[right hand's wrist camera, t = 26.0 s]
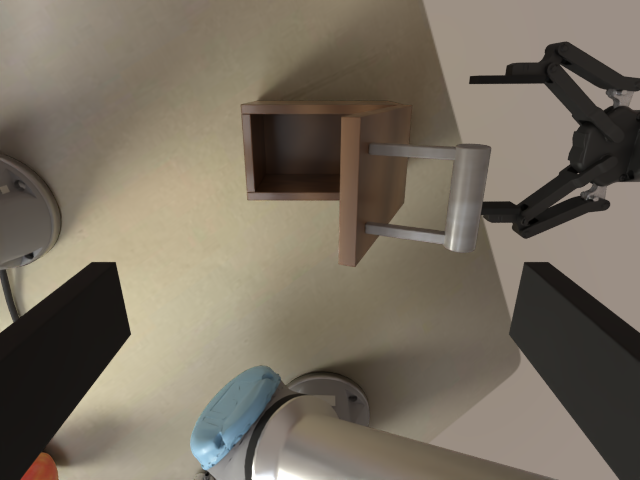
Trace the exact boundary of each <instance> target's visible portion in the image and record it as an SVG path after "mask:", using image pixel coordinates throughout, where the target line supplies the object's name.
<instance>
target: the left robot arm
mask: <svg viewBox="0 0 640 480" xmlns="http://www.w3.org/2000/svg"><path fill="white" fill-rule="evenodd" d="M560 65H562V66H564V67H565V68H567V69H569V70H570V71H572V72H574V73H575V74H577V75H579V76H580V77H582V78H584V79H585V80H587V81H589V82H590V83H592V84H593V85H595V86H597V87H599V88H602V89H606V90H607V91H606V94H607V95H608V97H609V98H611V99H613V101H614V104H613V106H610V107H608V108H607V109H605V110H604V111H603V110H602V109H601V108H599V107H597V106H596V105H595V104H594V103H593V102H592V101H591V100H590V99H589V97H588V96H587V95H586V94H585V93H584V92H583V91H582V90H581V88H580V87H579V86H578V85H577V84H576V83H575V82H574V81H573V79H572V78H571V77H570V76H569V75H568V74H567V73H566V72H565V70H564V69H563V68H562V67H561V66H560ZM531 83H544V84H545V85H546V86H547V87H548V88H549V89H550V90H551V91H552V93H553V94H554V95H555V96H556V97H557V98H558V99H559V100H560V101H561V102H562V103H563V105H564V106H565V107H566V108H567V109H568V110H569V111H570V112H571V113H572V117H573V118H574V119H575V120H576V121H577V123H578V124H579V125H580V127H579V128H578V130H577V131H575V132H574V134H573V146H572V148H571V150H570V153H569V156H568V160H570V165H569V166H567V167H566V168H564V169H563V170H562V171H560V172H559V175H558V176H557V177H556V178H554V179H553V180H551V181H550V182H549V183H547V184H546V185H544V186H543V187H542V188H540V189H539V190H537V191H536V192H535V193H533V194H532V195H530V196H529V197H528V198H526V199H525V200H523V201H522V202H521V203H519V204H518V205H515V204H513V203H512V202H510V201H509V202H483V203H482V209H481V215H483V217H484V218H485V219H486V220H487V221H489V222H492V223H500V222H501V223H513V226H512V229H513V230H514V231H515V232H516V233H518V234H519V235H520V236H521V237H523V238H525V239H527V238H530V237H532V236H534V235H537V234H539V233H541V232H544V231H546V230H548V229H551V228H553V227H555V226H558V225H560V224H562V223H565V222H567V221H569V220H572V219H574V218H576V217H579V216H581V215H583V214H586V213H588V212H595V211H604V210H607V209H608V208H609V207H610V202H609V201H608V200H605V194H606V188H607V186H608V185H610V184H612V183H615V182H640V110H632V109H631V108H629V107H628V106H629V104H630V101H631V98H632V96H633V93H634V91H639V90H640V78H632V77H624V76H622V75H621V74H619V73H617V72H616V71H614V70H612V69H611V68H609V67H608V66H606V65H604V64H603V63H601V62H600V61H598V60H596V59H595V58H593V57H591V56H590V55H588V54H587V53H585V52H583V51H582V50H580V49H579V48H577V47H575V46H574V45H572V44H570V43H569V42H561V43H555V44H550V45H548V46H547V47H546V49H545V55H544V57H543V59H542V60H541V61H540V62H538V63H512V64H510V65H507V68H506V74H505V75H504V76H503V75H502V76H470V82H469V84H531ZM577 173H579V174H577ZM589 182H590V183H592V184H593V185H592V187H591V189H589V190H587V191H585V192H581V194H580V195H581V196H577V197H573V198H570V199H568V200H566V201H563V202H561V203H559V204H556V205H554V206H552V205H553V204H554V203H556V202H557V201H559V200H560V199H562V198H563V197H565V196H566V195H568V194H569V193H570V192H572V191H573V190H575V189H576V188H581V187H583V186H585V185H586V184H588V183H589ZM550 206H552V207H550ZM549 207H550V208H549ZM369 418H370V411H369V405H368V400H367V397H366V395H365V393H364V392H363V390H362V389H361V388H360V387H359V386H358V385H357V384H356V383H355V382H353V381H352V380H350V379H348V378H346V377H344V376H342V375H338V374H334V373H327V372H318V373H311V374H307V375H303V376H301V377H298V378H296V379H295V380H293V381H291V382H290V383H289V384H288V385H286V386H285V384H284V383H283V382H282V381H281V377H280V376H279V374H276V373H275V372H274V371H273V370H272V369H271V368H269V367H267V366H256V367H253V368H250V369H248V370H246V371H244V372H243V373H241V374H239V375H238V376H237V377H236V378H234V379H233V380H231V381H230V382H229V383H228V384H227V385H225V386H224V387H223V388H222V389H221V390H220V391H219V392H218V393H217V394H216V395H215V397H214V398H213V399H212V400H211V401H210V403H209V404H208V405H207V406H206V408H205V409H204V411H203V412H202V414H201V415H200V417H199V419H198V420H197V422H196V425H195V427H194V429H193V432H192V435H191V442H190V445H191V451H192V453H193V455H194V456H195V457H196V458H197V460H198V461H199V462H200V463H201V467H202V468H203V469H204V470H207V471H208V472H209V473H210V474H211V475H212V476H213V477H214V478H215V479H216V480H557V479H553V478H550V477H546V476H543V475H539V474H535V473H532V472H528V471H525V470H521V469H517V468H514V467H510V466H507V465H503V464H499V463H496V462H492V461H489V460H485V459H481V458H478V457H474V456H471V455H467V454H463V453H460V452H456V451H453V450H449V449H445V448H442V447H438V446H435V445H431V444H427V443H424V442H420V441H417V440H413V439H409V438H406V437H402V436H399V435H395V434H391V433H388V432H384V431H381V430H377V429H373V428H370V427H368V425H369Z"/></svg>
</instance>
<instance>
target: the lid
mask: <svg viewBox="0 0 640 480" xmlns="http://www.w3.org/2000/svg"><path fill="white" fill-rule="evenodd" d="M411 114H412V105H396V106H392V107H387V108H382V109H377V110H372V111H367V112H362V113H357V114H352V115H347V116H342V117H341V164H340V213H339V264H341V265H346V266H352V267H356V265H357V264H358V263H359V261H360V260H361V259H362V257H363V256H364V255H365V253H366V252H367V251H368V249H369V248H370V247H371V246H372V244H373V243H374V242H375V240H376V239H377V238H378V236H379V235H380V236H388V237H395V238H402V239H409V240H416V241H423V242H430V243H437V244H443V245H444V247H445V248H446V249H448V250H451V251H454V252H461V253H467V252H472V251H474V250H475V247H476V241H477V234H478V228H479V222H480V216H481V209H482V203H483V197H484V191H485V184H486V178H487V172H488V166H489V159H490V153H491V147H490V146H487V145H480V144H459V145H456V147H447V146H428V145H410V144H409V138H410V126H411ZM408 157H413V158H428V159H444V160H454V163H453V171H452V179H451V187H450V194H449V202H448V210H447V218H446V226H445V231H438V230H430V229H423V228H415V227H407V226H399V225H392V224H388V223H389V222H390V221H391V219H392V218H393V217H394V215H395V214H396V213H397V211H398V210H399V209H400V207H401V206H402V205H403V204H404V198H405V186H406V174H407V162H408Z"/></svg>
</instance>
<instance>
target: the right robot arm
mask: <svg viewBox="0 0 640 480" xmlns="http://www.w3.org/2000/svg"><path fill="white" fill-rule="evenodd" d="M60 225H61V221H60V213H59V209H58V205H57V203H56V200H55V198H54V196H53V194H52V192H51V191H50V189H49V188H48V186H47V185H46V184H45V183H44V181H43V180H42V179H41V178H40V177H39V176H38V175H37V174H36V173H35V172H34V171H32V170H31V169H30V168H29V167H27V166H26V165H24V164H23V163H21V162H19V161H17V160H15V159H13V158H11V157H9V156H6V155H3V154H0V279H1V283H2V287H3V291H4V295H5V299H6V302H7V305H8V308H9V311H10V314H11V317H12V320H13V322H14V323H12V324H11V325H10V326H9V327H7V328H6V329H5V330H3V331H2V332H1V333H0V480H21V478H22V477H23V476H24V474H25V473H26V472H27V470H28V469H29V468H30V467H31V465H32V464H33V463H34V461H35V460H36V459H37V457H38V456H39V455H40V453H41V452H42V451H43V449H44V448H45V447H46V445H47V444H48V443H49V442H50V440H51V439H52V438H53V436H54V435H55V434H56V432H57V431H58V430H59V428H60V427H61V426H62V424H63V423H64V422H65V420H66V419H67V418H68V417H69V415H70V414H71V413H72V411H73V410H74V409H75V407H76V406H77V405H78V403H79V402H80V401H81V399H82V398H83V397H84V395H85V394H86V393H87V392H88V390H89V389H90V388H91V386H92V385H93V384H94V382H95V381H96V380H97V378H98V377H99V376H100V374H101V373H102V372H103V370H104V369H105V368H106V367H107V365H108V364H109V363H110V361H111V360H112V359H113V357H114V356H115V355H116V353H117V352H118V351H119V349H120V348H121V347H122V346H123V344H124V343H125V342H126V340H127V339H128V338H129V336H130V335H131V332H130V327H129V323H128V318H127V313H126V309H125V304H124V299H123V294H122V290H121V285H120V280H119V276H118V271H117V266H116V262H91V263H90V264H89V265H88V266H86V267H85V268H84V269H82V270H81V271H80V272H78V273H77V274H76V275H75V276H73V277H72V278H71V279H69V280H68V281H67V282H66V283H64V284H63V285H62V286H60V287H59V288H58V289H56V290H55V291H54V292H53V293H51V294H50V295H49V296H47V297H46V298H45V299H44V300H42V301H41V302H40V303H38V304H37V305H36V306H34V307H33V308H32V309H31V310H29V311H28V312H27V313H25V314H24V315H23V316H22V317H20V318H19V316H18V313H17V310H16V307H15V304H14V301H13V297H12V293H11V289H10V285H9V281H8V276H7V272H6V269H9V268H14V267H20V266H24V265H27V264H29V263H32V262H33V261H35V260H37V259H38V258H40V257H42V256H43V255H45V254H46V253H47V252H48V251H50V250H51V248H52V247H53V246H54V244H55V243H56V241H57V239H58V236H59V232H60ZM509 335H510V336H511V338H512V339H513V340H514V342H515V343H516V344H517V346H518V347H519V348H520V349H521V351H522V352H523V353H524V355H525V356H526V357H527V359H528V360H529V361H530V363H531V364H532V365H533V367H534V368H535V369H536V370H537V372H538V373H539V374H540V376H541V377H542V378H543V380H544V381H545V382H546V384H547V385H548V386H549V388H550V389H551V390H552V392H553V393H554V394H555V395H556V397H557V398H558V399H559V401H560V402H561V403H562V405H563V406H564V407H565V409H566V410H567V411H568V413H569V414H570V415H571V416H572V418H573V419H574V420H575V422H576V423H577V424H578V426H579V427H580V428H581V430H582V431H583V432H584V433H585V435H586V436H587V438H588V439H589V440H590V442H591V443H592V444H593V445H594V447H595V448H596V449H597V451H598V452H599V453H600V455H601V456H602V457H603V459H604V460H605V461H606V463H607V464H608V465H609V467H610V468H611V469H612V470H613V472H614V473H615V474H616V476H617V477H618V478H619V480H640V333H639V332H638V331H637V330H635V329H634V328H633V327H631V326H630V325H629V324H628V323H626V322H625V321H624V320H622V319H621V318H620V317H618V316H617V315H616V314H615V313H613V312H612V311H611V310H609V309H608V308H607V307H606V306H604V305H603V304H602V303H600V302H599V301H598V300H596V299H595V298H594V297H593V296H591V295H590V294H589V293H587V292H586V291H585V290H583V289H582V288H581V287H580V286H578V285H577V284H576V283H574V282H573V281H572V280H571V279H569V278H568V277H567V276H565V275H564V274H563V273H562V272H560V271H559V270H558V269H556V268H555V267H554V266H552V265H551V264H550V263H549V262H524V266H523V271H522V276H521V280H520V285H519V290H518V295H517V299H516V304H515V309H514V313H513V318H512V323H511V327H510V332H509Z"/></svg>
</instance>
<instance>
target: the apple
mask: <svg viewBox="0 0 640 480" xmlns="http://www.w3.org/2000/svg"><path fill="white" fill-rule="evenodd" d="M21 480H58V472H57V468H56V465H55V462H54V460H53V459H52V457H51V456H50V455H49V454H47V453H43V452H41V453H40V455H39V456H38V457H37V459H36V460H35V461H34V463H33V464H32V465H31V467H30V468H29V469H28V470H27V472H26V473H25V474H24V476H23V477H22V478H21Z"/></svg>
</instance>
